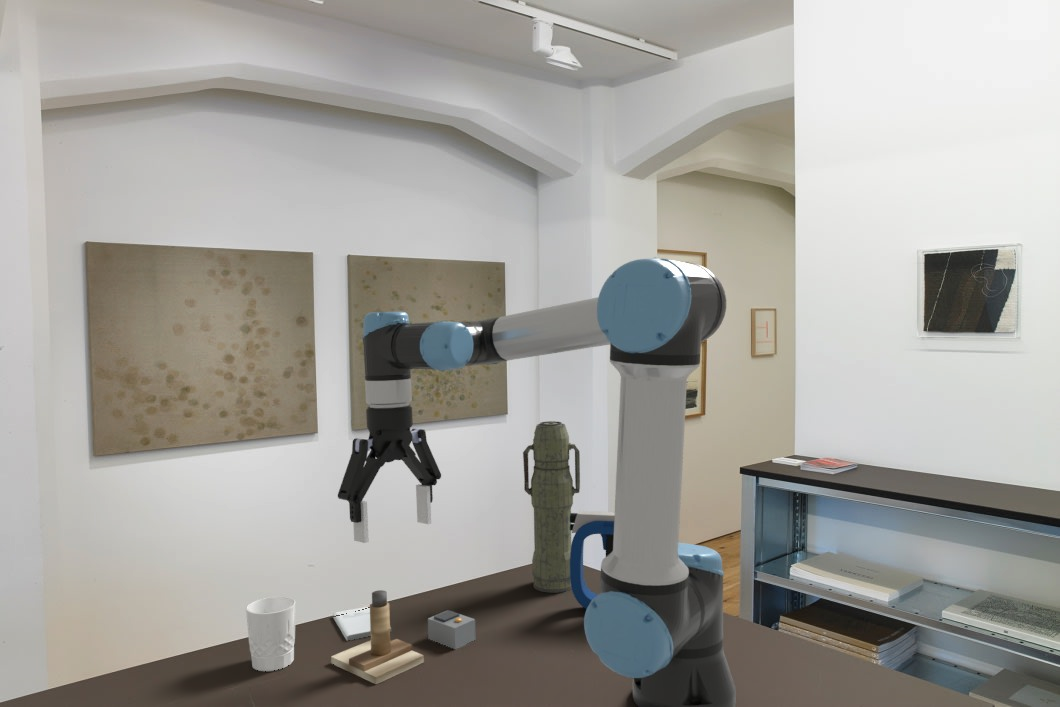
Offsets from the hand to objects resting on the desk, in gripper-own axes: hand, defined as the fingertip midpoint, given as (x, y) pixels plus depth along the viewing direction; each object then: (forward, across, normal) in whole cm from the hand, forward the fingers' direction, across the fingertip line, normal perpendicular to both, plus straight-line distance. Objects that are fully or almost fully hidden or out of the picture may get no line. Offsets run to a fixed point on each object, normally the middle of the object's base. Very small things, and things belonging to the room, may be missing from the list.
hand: (394, 531), depth 129 cm
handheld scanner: (+23, -40, +16) cm, 49 cm away
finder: (+22, -12, +1) cm, 25 cm away
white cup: (+22, +13, -17) cm, 31 cm away
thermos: (+22, -45, -2) cm, 50 cm away
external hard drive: (+23, -6, -18) cm, 30 cm away
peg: (+20, +2, -2) cm, 20 cm away
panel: (+22, +2, -3) cm, 22 cm away
